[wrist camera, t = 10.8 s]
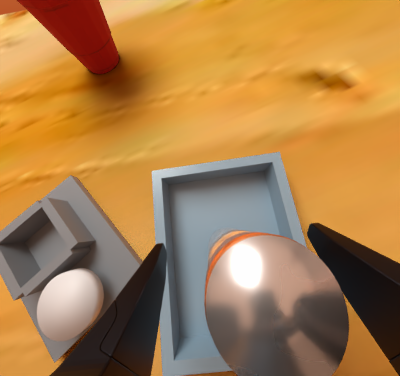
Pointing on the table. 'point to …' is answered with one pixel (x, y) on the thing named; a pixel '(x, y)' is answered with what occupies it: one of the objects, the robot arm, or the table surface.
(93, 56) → the plastic cup
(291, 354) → the salt shaker
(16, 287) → the plate
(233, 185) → the tray
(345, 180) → the table surface
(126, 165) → the table surface
